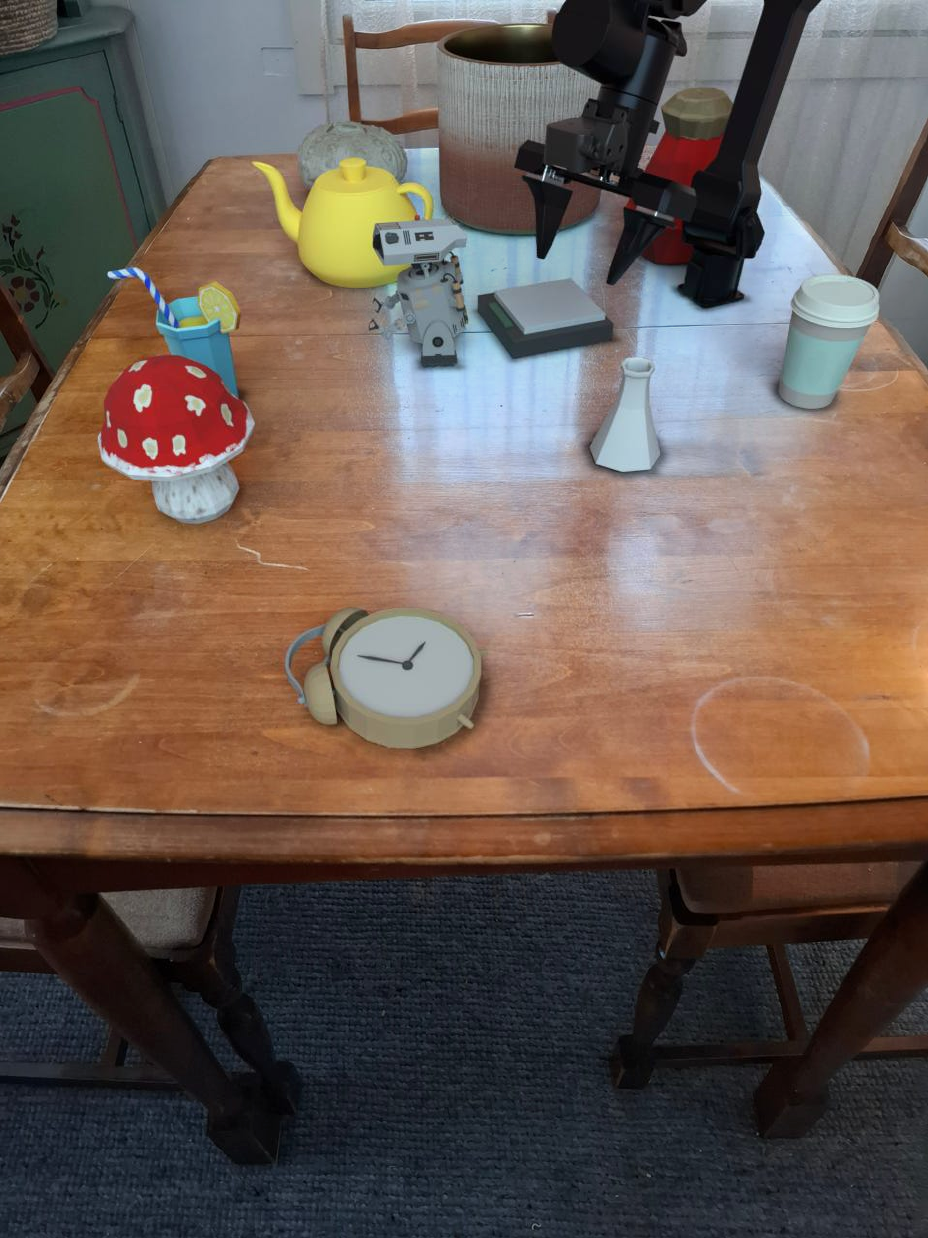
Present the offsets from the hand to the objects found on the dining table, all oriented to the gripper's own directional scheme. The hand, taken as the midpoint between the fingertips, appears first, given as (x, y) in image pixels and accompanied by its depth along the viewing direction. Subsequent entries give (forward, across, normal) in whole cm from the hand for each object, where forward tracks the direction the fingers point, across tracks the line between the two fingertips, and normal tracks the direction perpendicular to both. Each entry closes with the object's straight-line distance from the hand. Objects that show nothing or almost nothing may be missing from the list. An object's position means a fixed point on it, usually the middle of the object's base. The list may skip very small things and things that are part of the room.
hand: (574, 271), depth 83 cm
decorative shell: (+3, -64, +25) cm, 69 cm away
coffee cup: (+6, +21, +20) cm, 30 cm away
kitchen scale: (+8, -11, +13) cm, 19 cm away
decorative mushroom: (+28, -12, -33) cm, 45 cm away
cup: (+24, -27, -23) cm, 43 cm away
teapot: (+10, -42, +9) cm, 44 cm away
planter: (-2, -39, +38) cm, 54 cm away
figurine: (+14, -18, 0) cm, 23 cm away
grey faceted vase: (+14, +13, -1) cm, 20 cm away
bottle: (-3, -11, +40) cm, 41 cm away
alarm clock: (+29, +19, -35) cm, 50 cm away
